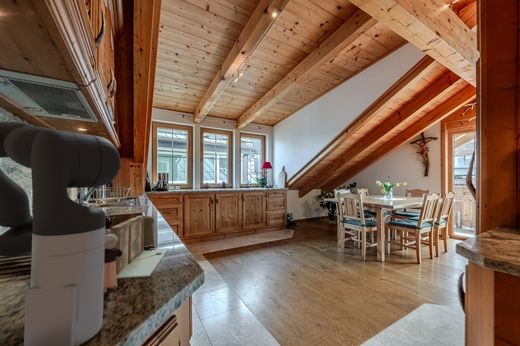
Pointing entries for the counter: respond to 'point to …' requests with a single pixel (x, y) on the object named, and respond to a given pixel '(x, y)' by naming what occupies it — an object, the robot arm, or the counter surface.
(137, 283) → the counter surface
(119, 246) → the panel
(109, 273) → the grandmother figurine
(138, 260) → the board
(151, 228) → the olive grey cylinder
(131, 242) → the fence panel
